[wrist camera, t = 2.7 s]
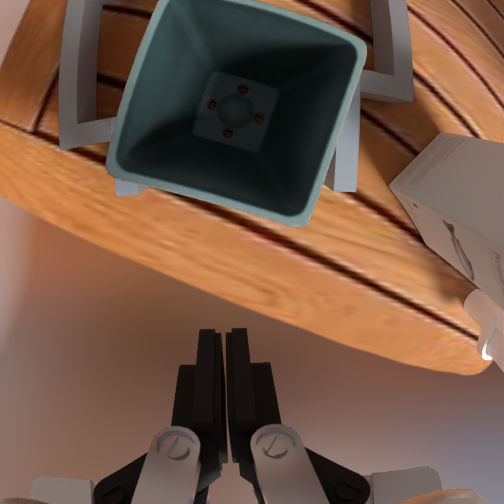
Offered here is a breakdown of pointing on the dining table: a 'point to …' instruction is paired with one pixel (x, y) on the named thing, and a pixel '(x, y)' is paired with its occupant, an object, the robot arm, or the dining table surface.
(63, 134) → the stepped grey frame
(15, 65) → the dining table surface
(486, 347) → the white plastic fitting
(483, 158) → the supplement box
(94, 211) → the dining table surface
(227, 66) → the flower pot
